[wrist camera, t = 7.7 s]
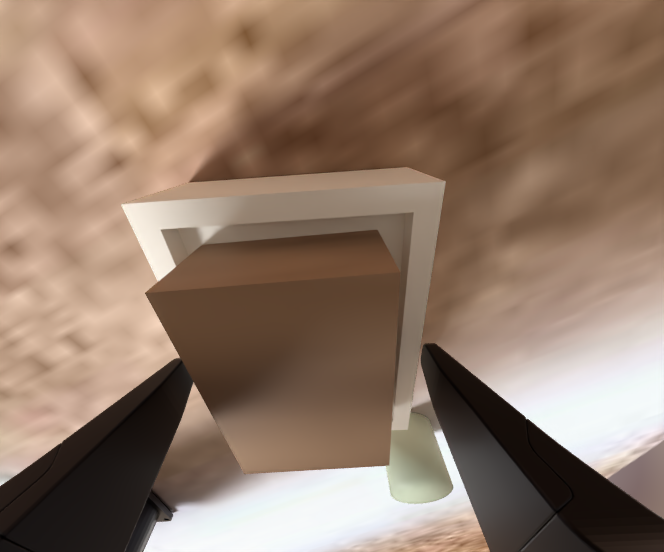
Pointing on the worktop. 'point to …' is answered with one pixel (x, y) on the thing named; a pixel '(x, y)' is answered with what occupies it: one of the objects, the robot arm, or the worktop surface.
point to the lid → (290, 346)
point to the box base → (309, 232)
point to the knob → (417, 464)
